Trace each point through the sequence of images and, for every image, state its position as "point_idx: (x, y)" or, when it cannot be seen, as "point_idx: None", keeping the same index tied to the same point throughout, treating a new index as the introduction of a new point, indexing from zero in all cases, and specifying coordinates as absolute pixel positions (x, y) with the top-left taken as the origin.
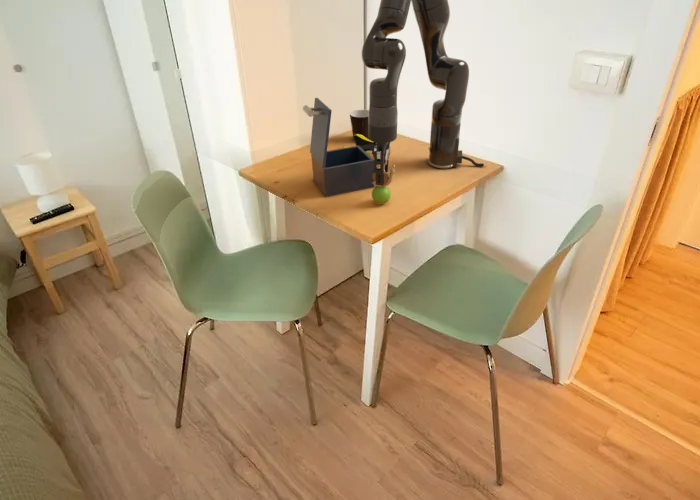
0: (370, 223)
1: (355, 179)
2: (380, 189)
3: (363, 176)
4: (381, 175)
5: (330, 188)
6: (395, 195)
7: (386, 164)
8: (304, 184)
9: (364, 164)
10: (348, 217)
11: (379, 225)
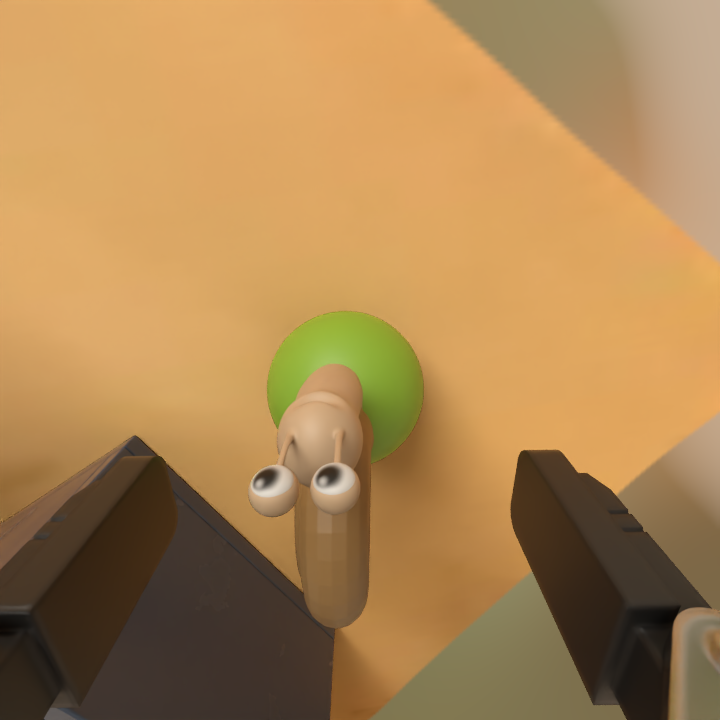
0: (621, 377)
1: (198, 591)
2: (390, 423)
3: None
4: (693, 598)
5: (315, 656)
6: (208, 276)
7: (97, 554)
8: None
9: None
10: None
11: (653, 319)
